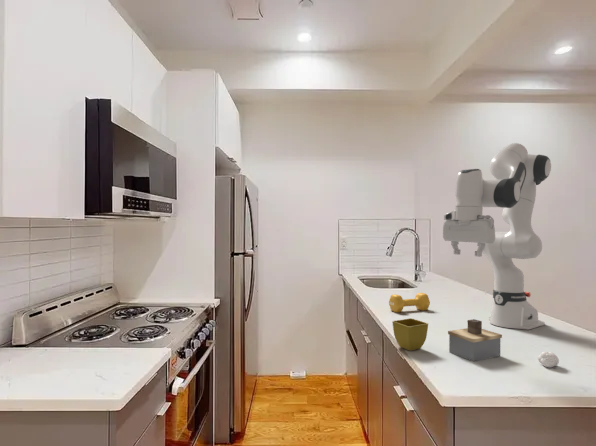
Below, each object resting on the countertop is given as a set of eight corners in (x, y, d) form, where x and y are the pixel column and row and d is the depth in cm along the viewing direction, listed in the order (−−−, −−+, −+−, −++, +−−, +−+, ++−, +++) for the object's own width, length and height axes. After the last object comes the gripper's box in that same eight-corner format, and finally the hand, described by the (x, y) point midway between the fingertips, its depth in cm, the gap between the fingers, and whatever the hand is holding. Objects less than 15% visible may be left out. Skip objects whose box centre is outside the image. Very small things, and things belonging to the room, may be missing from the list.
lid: (475, 333, 146) (475, 315, 146) (501, 341, 136) (502, 322, 136) (448, 337, 140) (448, 319, 140) (473, 346, 131) (473, 326, 131)
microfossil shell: (549, 354, 124) (562, 353, 126) (533, 349, 129) (545, 348, 131) (549, 369, 124) (561, 368, 126) (533, 364, 129) (545, 363, 131)
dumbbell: (420, 307, 211) (420, 291, 211) (431, 311, 202) (431, 294, 202) (387, 310, 205) (387, 293, 205) (396, 314, 197) (396, 296, 196)
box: (475, 347, 145) (475, 330, 145) (500, 356, 136) (500, 337, 136) (449, 352, 140) (449, 334, 140) (473, 361, 131) (473, 342, 131)
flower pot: (409, 353, 139) (409, 326, 139) (391, 346, 146) (391, 320, 146) (428, 349, 143) (429, 323, 143) (410, 343, 151) (410, 318, 150)
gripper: (500, 215, 137) (499, 257, 137) (453, 216, 156) (452, 253, 156) (486, 214, 135) (485, 257, 135) (440, 215, 153) (439, 253, 153)
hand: (467, 255), depth 146 cm, fingers open, 8 cm apart
